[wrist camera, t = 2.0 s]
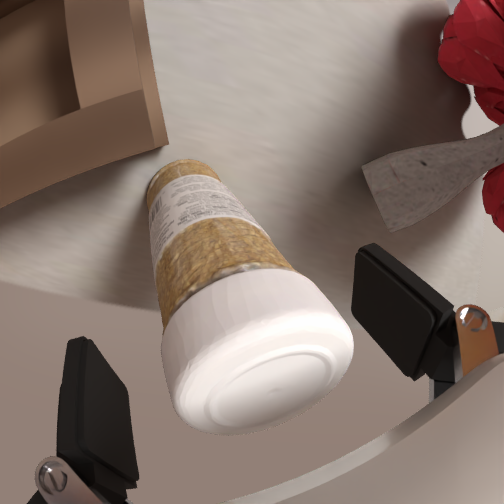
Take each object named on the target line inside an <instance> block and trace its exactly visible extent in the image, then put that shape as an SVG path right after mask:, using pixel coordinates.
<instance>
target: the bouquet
mask: <svg viewBox="0 0 504 504" xmlns="http://www.w3.org/2000/svg"><path fill="white" fill-rule="evenodd" d="M438 63H439V65H440V67H441V69H442V70H443V71H444V72H445V73H446V74H447V75H448V76H449V77H451V78H453V79H455V80H457V81H459V82H460V83H464V84H469V85H473V86H474V93H475V96H476V97H474V98H475V100H476V102H477V103H478V104H479V106H480V107H481V109H482V110H483V112H484V113H485V114H486V116H487V117H488V118H489V119H490V120H492V121H493V122H495V123H496V124H498V125H499V127H497V128H495V129H493V130H492V131H490V132H488V133H485V134H482V135H480V136H477V137H474V138H470V139H465V140H460V141H453V142H447V143H439V144H432V145H426V146H420V147H414V148H409V149H405V150H401V151H397V152H393V153H389V154H386V155H385V156H382V157H380V158H378V159H375V160H373V161H371V162H369V163H367V164H365V165H363V166H361V167H362V170H363V173H364V176H365V179H366V181H367V184H368V186H369V188H370V191H371V193H372V196H373V198H374V200H375V202H376V205H377V207H378V209H379V212H380V214H381V216H382V218H383V220H384V223H385V225H386V226H387V228H388V230H389V232H390V233H392V232H395V231H397V230H400V229H402V228H405V227H408V226H410V225H413V224H415V223H417V222H419V221H421V220H422V219H424V218H425V217H427V216H429V215H430V214H432V213H434V212H435V211H437V210H438V209H440V208H441V207H442V206H444V205H445V204H446V203H448V202H449V201H450V200H452V199H453V198H454V197H455V196H456V195H458V194H459V193H460V192H461V191H462V190H464V189H465V188H466V187H467V186H469V185H470V184H471V183H472V182H474V181H475V180H476V179H477V178H478V177H480V176H481V175H483V174H484V173H486V172H487V171H488V172H487V174H486V175H485V176H484V178H483V180H485V181H484V185H483V189H482V197H483V205H484V208H485V211H486V213H487V214H490V215H491V216H492V219H493V223H494V224H495V225H496V226H497V227H498V228H499V229H500V230H501V231H502V232H504V0H460V2H459V3H458V5H457V6H456V7H455V10H454V14H452V15H449V17H448V19H447V21H446V24H445V26H444V28H443V39H442V44H441V45H440V47H439V52H438ZM483 180H482V181H483Z"/></svg>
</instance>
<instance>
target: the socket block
mask: <svg viewBox="0 0 504 504" xmlns="http://www.w3.org/2000/svg"><path fill="white" fill-rule="evenodd" d="M168 144H169V141H168V137H167V132H166V128H165V123H164V118H163V113H162V108H161V103H160V98H159V93H158V88H157V83H156V77H155V72H154V66H153V60H152V55H151V49H150V43H149V36H148V30H147V23H146V17H145V10H144V2H143V0H0V209H1V208H3V207H5V206H7V205H9V204H11V203H13V202H15V201H17V200H19V199H21V198H23V197H25V196H28V195H30V194H32V193H34V192H36V191H39V190H41V189H43V188H46V187H48V186H50V185H53V184H55V183H58V182H60V181H62V180H65V179H67V178H70V177H73V176H75V175H78V174H80V173H83V172H86V171H88V170H91V169H94V168H97V167H100V166H102V165H105V164H108V163H111V162H114V161H117V160H120V159H123V158H126V157H129V156H133V155H136V154H139V153H142V152H146V151H149V150H153V149H155V148H158V147H161V146H165V145H168Z"/></svg>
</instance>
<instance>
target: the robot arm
mask: <svg viewBox="0 0 504 504" xmlns="http://www.w3.org/2000/svg"><path fill="white" fill-rule="evenodd" d="M453 308H454V305H452V304H451V303H450V302H449V301H448V300H447V299H445V298H444V297H443V296H442V295H441V294H439V293H438V292H437V291H436V290H435V289H433V288H432V287H431V286H430V285H428V284H427V283H426V282H425V281H424V280H422V279H421V278H420V277H419V276H417V275H416V274H415V273H414V272H412V271H411V270H410V269H408V268H407V267H406V266H405V265H403V264H402V263H401V262H399V261H398V260H397V259H396V258H394V257H393V256H392V255H390V254H389V253H388V252H386V251H385V250H384V249H382V248H381V247H380V246H378V245H377V244H375V243H372V244H369V245H366V246H364V247H361V248H360V249H359V250H358V253H357V254H356V256H355V270H354V283H353V295H352V305H351V311H352V314H353V316H354V318H355V319H356V320H357V321H358V322H359V323H360V324H361V325H362V327H363V328H364V329H365V330H366V331H367V332H368V333H369V334H370V336H371V337H372V338H373V339H374V340H375V341H376V342H377V343H378V345H379V346H380V347H381V348H382V349H383V350H384V351H385V353H386V354H387V355H388V356H389V357H390V358H391V360H392V361H393V362H394V363H395V364H396V366H397V367H398V368H399V369H400V370H401V371H402V373H403V374H404V375H405V376H407V377H409V376H410V377H411V378H412V379H413V381H416V380H417V379H419V378H420V377H421V376H423V375H424V374H425V373H426V374H427V375H428V376H429V404H428V405H426V406H425V407H424V408H422V409H421V410H420V411H418V412H417V413H415V414H414V415H412V416H411V417H409V418H408V419H406V420H405V421H403V422H402V423H400V424H399V425H397V426H396V427H394V428H393V429H391V430H389V431H388V432H386V433H384V434H383V435H381V436H379V437H378V438H376V439H374V440H373V441H371V442H369V443H367V444H366V445H364V446H362V447H360V448H358V449H357V450H355V451H353V452H351V453H349V454H347V455H345V456H343V457H341V458H339V459H337V460H335V461H333V462H331V463H329V464H327V465H325V466H323V467H320V468H318V469H316V470H314V471H311V472H309V473H307V474H305V475H302V476H300V477H297V478H295V479H293V480H290V481H287V482H284V483H282V484H279V485H276V486H274V487H271V488H268V489H265V490H262V491H259V492H256V493H253V494H250V495H247V496H243V497H240V498H237V499H233V500H230V501H226V502H222V503H218V504H504V323H502V322H493V321H491V319H490V317H489V315H488V314H487V312H486V311H485V310H483V309H482V308H481V307H478V306H476V305H471V304H468V305H463V306H461V307H459V308H458V309H457V311H456V313H455V312H454V311H453ZM138 480H139V472H138V466H137V461H136V454H135V447H134V440H133V433H132V425H131V416H130V406H129V395H128V391H127V388H126V387H125V385H124V384H123V382H122V381H121V380H120V379H119V377H118V376H117V375H116V373H115V372H114V371H113V369H112V368H111V367H110V365H109V364H108V362H107V361H106V360H105V358H104V357H103V355H102V354H101V352H100V351H99V350H98V348H97V347H96V345H95V344H94V342H93V341H92V340H91V339H88V340H87V338H86V337H84V336H82V337H79V338H75V339H71V340H69V341H68V343H67V349H66V355H65V362H64V370H63V378H62V384H61V387H60V394H59V405H58V420H57V457H56V456H50V457H47V458H45V459H43V460H42V461H41V462H40V463H39V465H38V466H37V468H36V471H35V482H36V486H37V488H38V491H37V492H36V493H35V494H34V495H33V497H32V498H31V499H30V501H29V502H28V503H27V504H133V503H132V502H131V501H130V500H128V499H127V493H126V489H133V488H137V484H136V481H138Z"/></svg>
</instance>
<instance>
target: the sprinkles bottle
mask: <svg viewBox="0 0 504 504" xmlns="http://www.w3.org/2000/svg"><path fill="white" fill-rule="evenodd" d="M147 207H148V210H149V232H150V245H151V255H152V264H153V273H154V281H155V287H156V291H157V293H158V300H159V306H160V310H161V315H162V323H163V327H164V330H163V339H162V344H161V355H162V361H163V368H164V372H165V377H166V381H167V385H168V389H169V393H170V397H171V401H172V404H173V407H174V409H175V411H176V413H177V415H178V416H179V417H180V418H181V419H182V420H183V421H184V422H185V423H186V424H188V425H189V426H191V427H193V428H195V429H197V430H199V431H201V432H205V433H210V434H215V435H228V436H229V435H242V434H248V433H254V432H258V431H263V430H266V429H269V428H272V427H275V426H278V425H280V424H283V423H285V422H287V421H289V420H291V419H293V418H295V417H297V416H299V415H301V414H302V413H304V412H305V411H307V410H309V409H310V408H312V407H313V406H314V405H316V404H317V403H318V402H320V401H321V400H322V399H323V398H325V396H327V395H328V394H329V393H330V392H331V391H332V389H333V388H334V387H335V386H336V385H337V384H338V383H339V381H340V380H341V379H342V377H343V376H344V374H345V372H346V371H347V369H348V366H349V364H350V362H351V360H352V356H353V348H354V343H353V336H352V333H351V331H350V328H349V326H348V325H347V323H346V322H345V321H344V319H343V318H342V317H341V315H340V314H339V313H338V311H337V310H336V309H335V307H334V306H333V305H332V304H331V303H330V301H329V300H328V299H327V298H326V297H325V295H324V294H323V293H322V292H321V291H320V290H319V288H318V287H317V286H316V285H315V284H314V283H313V282H312V281H310V280H309V279H308V278H307V277H305V276H303V275H302V274H301V273H299V272H298V271H296V270H294V269H293V268H292V266H291V265H290V264H289V263H288V262H287V261H286V259H285V258H284V257H283V256H282V254H281V253H280V252H279V251H278V250H277V249H276V247H275V246H274V244H273V243H272V241H271V239H270V237H269V236H268V234H267V233H266V232H265V231H264V230H263V229H262V227H261V226H260V225H259V224H258V223H257V221H256V220H255V219H254V218H253V217H252V216H251V214H250V213H249V212H248V211H247V210H246V209H245V207H244V206H243V205H242V204H241V203H240V201H239V200H238V199H237V198H236V197H235V196H234V195H233V194H232V192H231V191H230V190H229V189H228V188H227V187H226V186H225V185H224V184H223V183H221V181H220V179H219V177H218V175H217V174H216V173H215V172H214V171H213V170H212V169H211V168H210V167H209V166H208V165H206V164H204V163H201V162H199V161H196V160H190V159H185V160H177V161H175V162H172V163H169V164H168V165H166V166H164V167H163V168H162V169H161V170H160V171H158V172H157V173H156V175H155V176H154V177H153V179H152V181H151V183H150V185H149V189H148V192H147Z"/></svg>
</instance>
